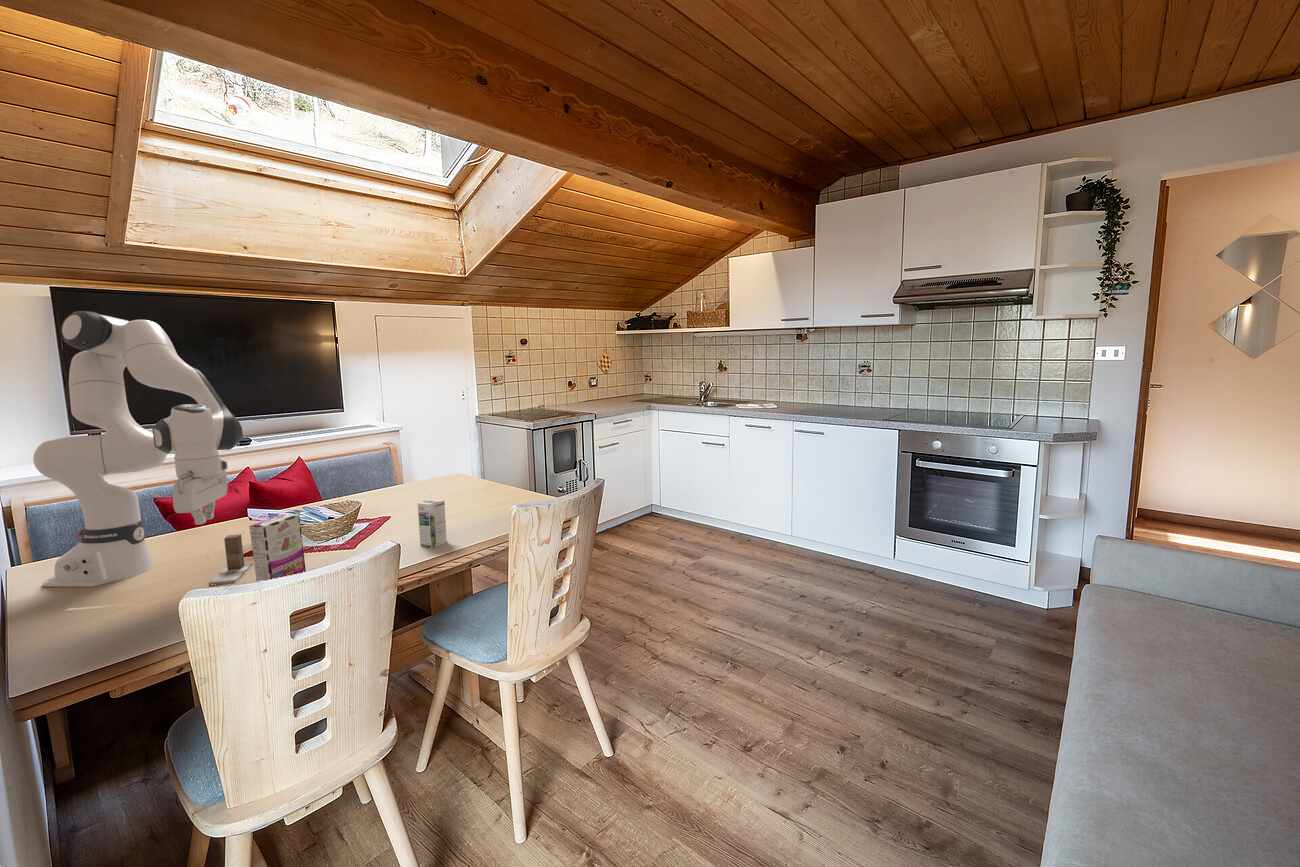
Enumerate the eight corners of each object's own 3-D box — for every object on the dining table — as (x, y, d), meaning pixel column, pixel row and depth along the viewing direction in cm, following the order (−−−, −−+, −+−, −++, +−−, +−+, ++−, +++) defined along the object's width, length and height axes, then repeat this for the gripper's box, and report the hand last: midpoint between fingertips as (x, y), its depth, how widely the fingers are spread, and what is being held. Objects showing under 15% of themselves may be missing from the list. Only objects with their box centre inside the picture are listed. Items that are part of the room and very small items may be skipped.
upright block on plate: (227, 569, 157) (223, 534, 155) (252, 566, 159) (249, 531, 158) (209, 586, 144) (204, 549, 143) (236, 583, 146) (232, 546, 145)
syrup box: (419, 549, 170) (416, 502, 169) (433, 543, 176) (430, 498, 174) (434, 551, 168) (430, 504, 167) (448, 545, 174) (445, 499, 172)
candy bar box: (291, 571, 154) (285, 513, 152) (306, 572, 153) (301, 513, 151) (255, 587, 143) (248, 524, 141) (271, 588, 142) (264, 525, 140)
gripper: (193, 475, 133) (199, 531, 135) (230, 461, 152) (235, 510, 154) (161, 477, 131) (168, 534, 133) (202, 462, 151) (208, 512, 152)
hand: (204, 521), depth 144 cm, fingers open, 3 cm apart
